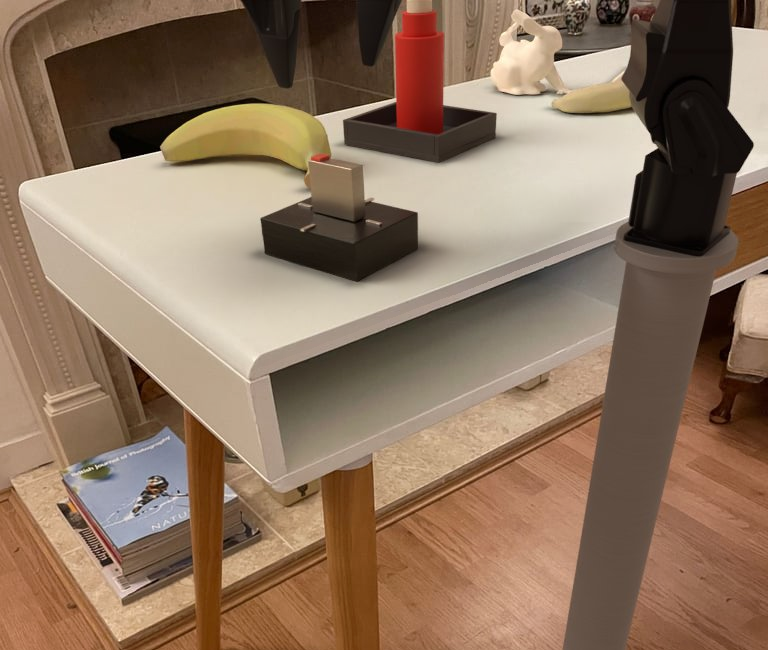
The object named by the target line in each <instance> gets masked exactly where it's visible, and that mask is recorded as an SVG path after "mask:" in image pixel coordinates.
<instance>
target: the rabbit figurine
mask: <svg viewBox="0 0 768 650" xmlns="http://www.w3.org/2000/svg"><path fill="white" fill-rule="evenodd" d="M510 18H511V20H512V21H513V22H514V23H513V24H512V25H511V26H509V27H508V28H507V30H506V31H503V32H502V33H501V34H500V36H499V38H498V39H499V40H498V41H499V45H500V46H501V47H503V48H502V49H501V53H500V56H499V59H498V60H497V61H496V60H494V63H493V64H492V65H493V67H492V68H491V70H490V78H491V80H492V82H493V84H494V85H495V86H496V87H497V90H498V91H499V92H502V93H503V92H504V93H507V94H510V95H515V96H516V95H518V96H520V95H540V94H541V92H546V91H548V90H547V85H546V84H545V83H543V82H541V81H542V80H544V79H545V80H546V81H547V83H549V85H550V86H551V87H552V88H553V89H555V90H556V95H559V94H560V95H563V94H565V95H566V94H568V93H570V92H572V91H574V90H573V89H567V88H566V86H565V83H564V82H563V79H562V77H561V76H560V74H559V72H558V70H557V68H556V66H555V53H557V52H558V51H560V50H562V48H563V38H562V35H561V33H560V30H558V29H557V28H556V27H555V26H552V25H541V24H540V23H538V22H537V21H535V20H534V19H533V17H531V16H530V15H528V14H527V13H526V12H523V11H521V10H520V9H514V10H513V11H512V13H511V15H510ZM519 26H520V27H522V29H523V30H524V31H525V33H527V34H529V35H531V36H534V38H533V40H532V41H529V40H527V39H520V41H516V40H514V39H513V35H512V33H513V32H514V31H515V30H516V29H518V28H519Z"/></svg>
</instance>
